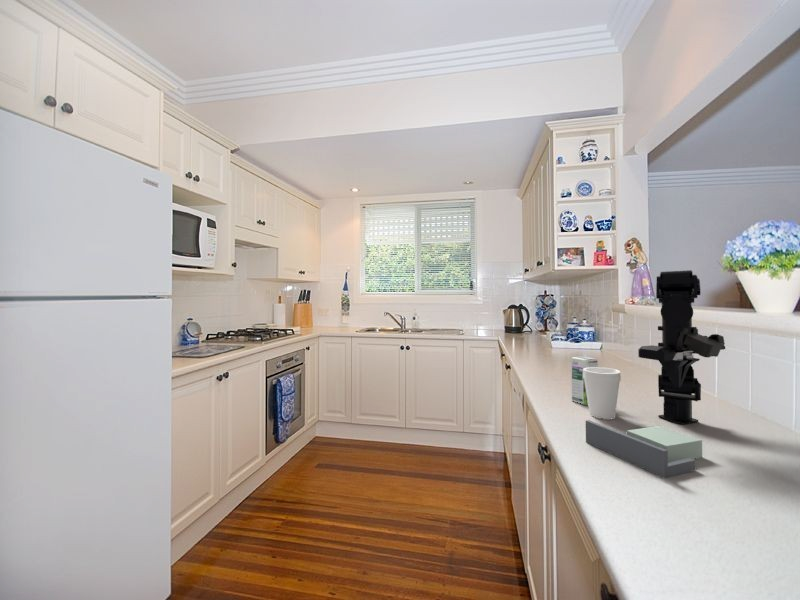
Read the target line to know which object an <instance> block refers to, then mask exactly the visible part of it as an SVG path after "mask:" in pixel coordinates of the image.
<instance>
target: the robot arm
mask: <svg viewBox="0 0 800 600" xmlns="http://www.w3.org/2000/svg"><path fill="white" fill-rule="evenodd" d="M655 289H656V293H655V298H656V299H657V300H658V303H659V304H661V308H660V316H661V324H662V325H659V326H657V331H661V337H662V338H661V339H662V342H658V343H657V345H642V346H640V348H638V350H637V351H638V358H640V359H646V360H647V359H648V360H655V361H658V362H659V363H660V365H661V371H660V372H661V374H658V376H657V378H658V380H657V381H658V385H657V386H658V388H657V389H658V397H662V398H663V405H662V406H663V414H659V415H658V418H660V419H663V420H667V421H670V422H673V423H676V424H680V425H687V424H693V423H699V419H698V418H693V401H694V402H698V401H701V400H702V399H701V397H702V396H701V395H702V393H701V392H702V384H701V383H700V382H699V380H698V378H697V377H695V370H694V368H693V366H692V365H693V364H694V363H696V362H699V361H700V360H701V358H695V357H694V354H697V355H698V356H700V357H703V358H711V357H716V358H717V357H718V356H719V354H720V352H721V350H723V351H724V350H726V346H725V339H724V338H725V337H724V336H723V335H721V334H718V333H715V334H710V335H709V336H708V335H702V334H699V329H698V327H697V326H693V324H692V323H693V322H692V321H693V319H692V318H693V315H694V308H693V307H692V304H694V303H695V299H698V296H701V282H700V278H699V277H698V275H697V274H693V270H691V269H688V270H669V271H666V270H665V271H660V273H659V276H658V275H657V276H656V288H655Z"/></svg>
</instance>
